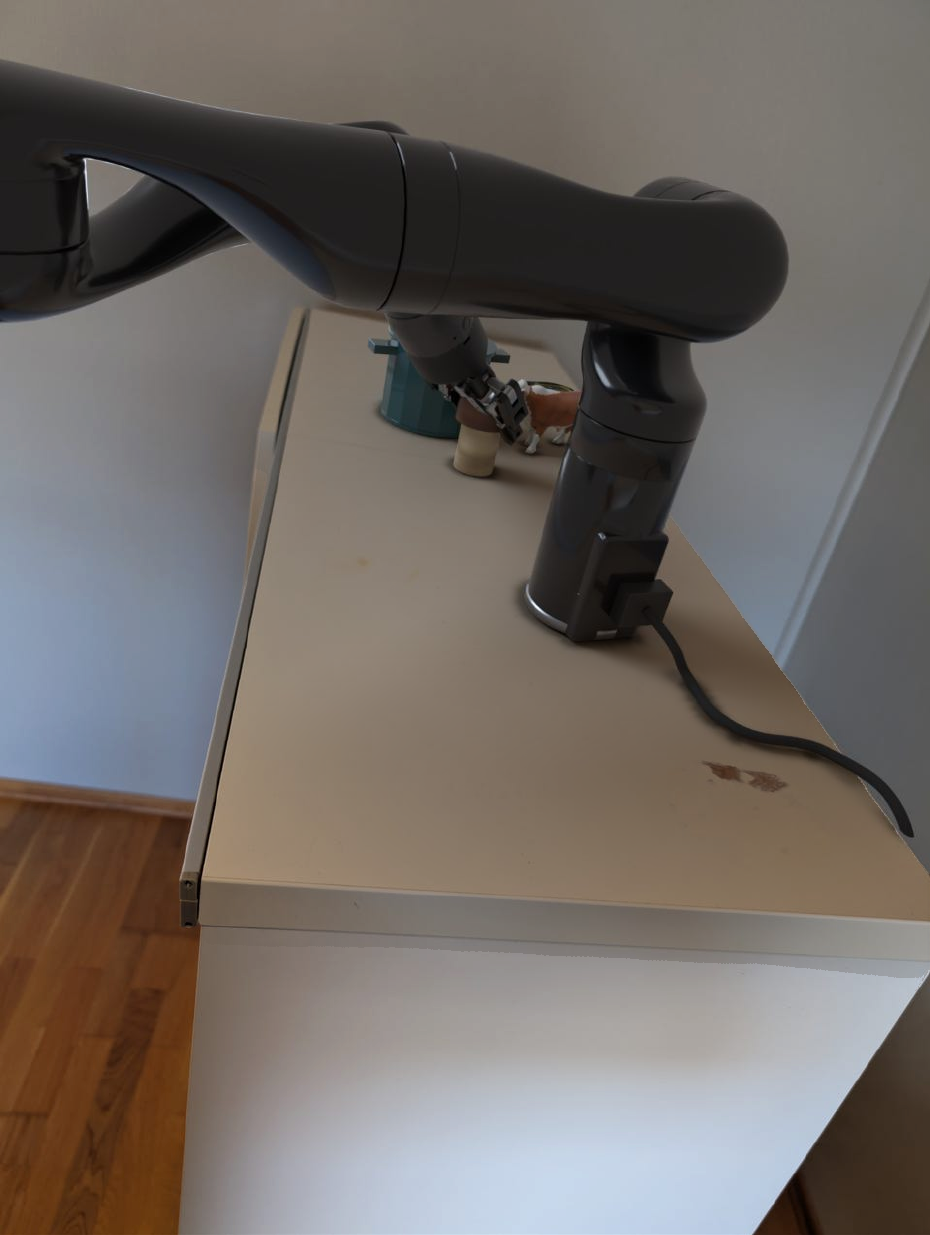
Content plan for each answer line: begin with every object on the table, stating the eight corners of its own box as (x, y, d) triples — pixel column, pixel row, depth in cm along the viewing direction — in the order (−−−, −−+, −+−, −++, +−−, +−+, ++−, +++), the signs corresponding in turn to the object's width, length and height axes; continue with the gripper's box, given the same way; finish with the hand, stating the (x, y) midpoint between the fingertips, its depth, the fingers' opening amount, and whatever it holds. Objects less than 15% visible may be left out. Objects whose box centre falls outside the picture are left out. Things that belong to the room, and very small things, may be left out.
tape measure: (555, 405, 119) (562, 379, 118) (580, 424, 114) (587, 397, 112) (512, 403, 116) (519, 376, 115) (535, 423, 112) (542, 395, 110)
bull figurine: (486, 439, 103) (500, 373, 99) (579, 440, 109) (596, 378, 105) (502, 455, 100) (518, 387, 96) (597, 455, 106) (616, 391, 102)
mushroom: (508, 480, 94) (525, 406, 90) (458, 480, 92) (474, 404, 87) (486, 457, 99) (501, 386, 94) (438, 456, 96) (452, 383, 92)
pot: (510, 440, 105) (529, 363, 100) (376, 435, 97) (389, 352, 92) (473, 403, 113) (488, 331, 108) (347, 396, 106) (357, 319, 101)
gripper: (358, 327, 83) (425, 427, 97) (465, 380, 75) (520, 479, 90) (407, 269, 83) (466, 377, 98) (517, 316, 76) (563, 425, 91)
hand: (491, 426), depth 94 cm, fingers closed on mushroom, 6 cm apart
